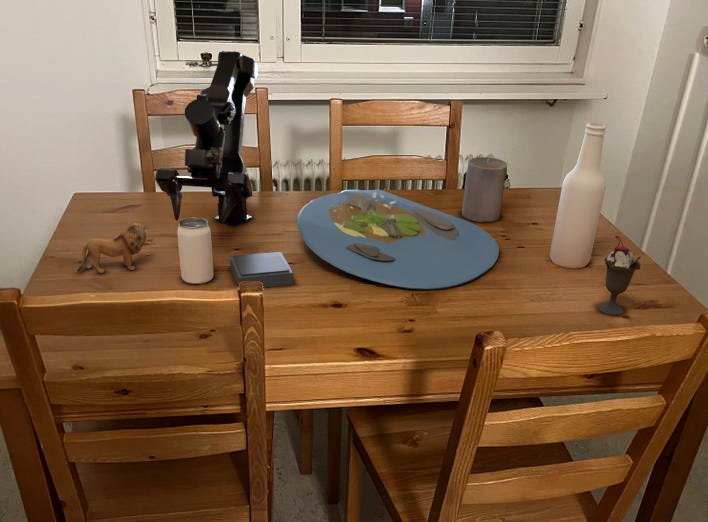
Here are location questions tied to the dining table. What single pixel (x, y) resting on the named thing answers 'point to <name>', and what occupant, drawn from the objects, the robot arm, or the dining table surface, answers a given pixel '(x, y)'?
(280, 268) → the riser
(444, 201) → the dining table surface
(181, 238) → the can
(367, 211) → the serving platter
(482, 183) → the pillar candle
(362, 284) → the dining table surface
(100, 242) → the lion figurine
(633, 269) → the sundae
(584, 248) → the alcohol
